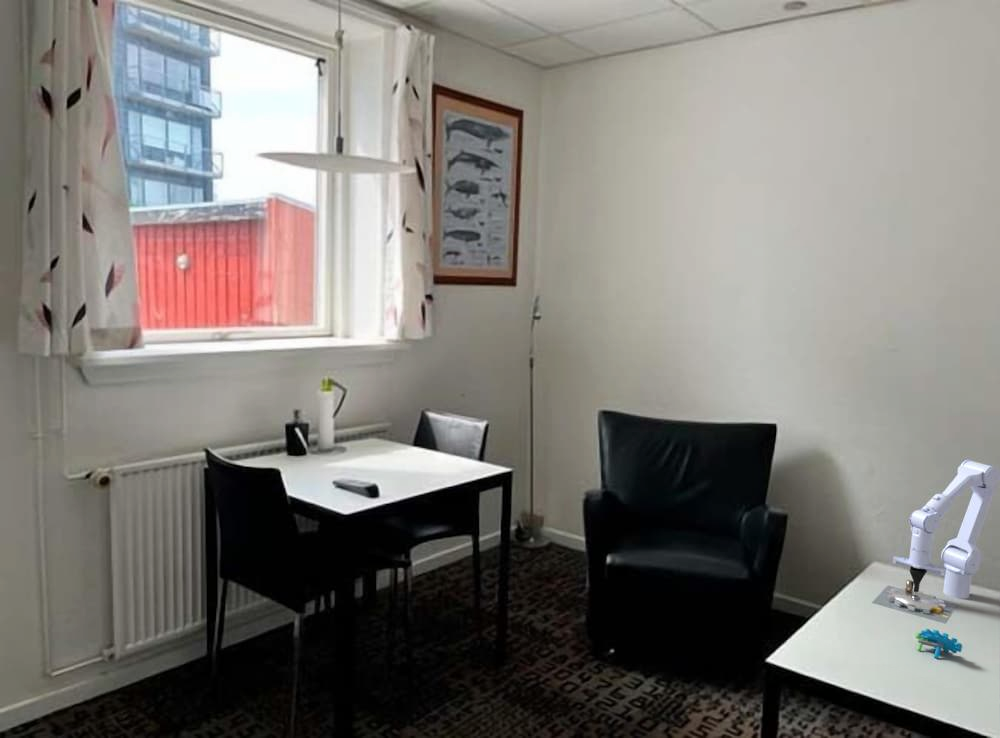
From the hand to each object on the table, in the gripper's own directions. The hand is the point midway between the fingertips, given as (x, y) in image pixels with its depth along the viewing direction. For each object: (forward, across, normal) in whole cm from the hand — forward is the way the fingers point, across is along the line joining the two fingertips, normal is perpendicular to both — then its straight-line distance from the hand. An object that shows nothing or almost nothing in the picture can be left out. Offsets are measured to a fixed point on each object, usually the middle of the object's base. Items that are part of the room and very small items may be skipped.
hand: (916, 591), depth 242 cm
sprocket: (+2, +1, -5) cm, 5 cm away
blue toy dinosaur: (+4, +13, -36) cm, 38 cm away
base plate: (+3, +1, -5) cm, 6 cm away
